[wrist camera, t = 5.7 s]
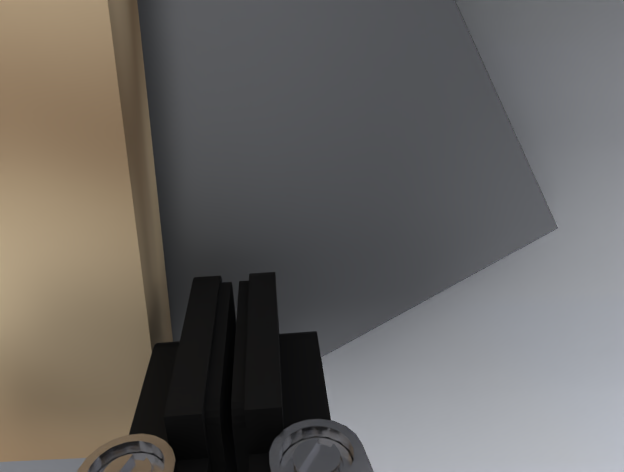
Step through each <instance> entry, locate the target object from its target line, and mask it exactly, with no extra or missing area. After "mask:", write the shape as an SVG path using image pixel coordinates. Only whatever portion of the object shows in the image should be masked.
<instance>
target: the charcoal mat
mask: <svg viewBox="0 0 624 472" xmlns="http://www.w3.org/2000/svg"><path fill="white" fill-rule="evenodd" d="M137 4H138V13H139V23H140V32H141V42H142V51H143V61H144V70H145V80H146V89H147V99H148V108H149V118H150V127H151V137H152V147H153V156H154V166H155V175H156V185H157V194H158V204H159V213H160V223H161V232H162V242H163V251H164V261H165V271H166V280H167V290H168V299H169V309H170V318H171V328H172V337H173V342H176V341H180V337H181V333H182V328H183V323H184V319H185V314H186V310H187V305H188V300H189V296H190V291H191V286H192V282H193V278H194V277H206V276H221V277H222V282H232V287H233V295H234V305H235V314H236V320H237V305H238V290H239V281H249V274H250V273H265V272H275V275H276V289H277V304H278V319H279V334H284V333H298V332H311V331H316V332H317V336H318V342H319V348H320V354H321V357H323V356H324V355H326V354H328V353H330V352H332V351H334V350H335V349H337V348H339V347H341V346H343V345H345V344H346V343H348V342H350V341H352V340H354V339H356V338H357V337H359V336H361V335H363V334H365V333H367V332H368V331H370V330H372V329H374V328H376V327H378V326H379V325H381V324H383V323H385V322H387V321H389V320H390V319H392V318H394V317H396V316H398V315H400V314H401V313H403V312H405V311H407V310H409V309H411V308H412V307H414V306H416V305H418V304H420V303H422V302H423V301H425V300H427V299H429V298H431V297H433V296H434V295H436V294H438V293H440V292H442V291H444V290H445V289H447V288H449V287H451V286H453V285H455V284H456V283H458V282H460V281H462V280H464V279H466V278H467V277H469V276H471V275H473V274H475V273H477V272H478V271H480V270H482V269H484V268H486V267H488V266H489V265H491V264H493V263H495V262H497V261H499V260H500V259H502V258H504V257H506V256H508V255H509V254H511V253H513V252H515V251H517V250H519V249H520V248H522V247H524V246H526V245H528V244H530V243H531V242H533V241H535V240H537V239H539V238H541V237H542V236H544V235H546V234H548V233H550V232H552V231H553V230H555V229H557V228H558V227H557V225H556V223H555V221H554V218H553V216H552V214H551V212H550V209H549V207H548V205H547V203H546V201H545V198H544V196H543V194H542V192H541V190H540V187H539V185H538V183H537V181H536V179H535V176H534V174H533V172H532V170H531V168H530V165H529V163H528V161H527V159H526V157H525V154H524V152H523V150H522V148H521V146H520V143H519V141H518V139H517V137H516V134H515V132H514V130H513V128H512V126H511V123H510V121H509V119H508V117H507V115H506V112H505V110H504V108H503V106H502V104H501V101H500V99H499V97H498V95H497V93H496V90H495V88H494V86H493V84H492V82H491V79H490V77H489V75H488V73H487V71H486V68H485V66H484V64H483V62H482V60H481V57H480V55H479V53H478V51H477V48H476V46H475V44H474V42H473V40H472V37H471V35H470V33H469V31H468V29H467V26H466V24H465V22H464V20H463V18H462V15H461V13H460V11H459V9H458V7H457V4H456V2H455V0H137ZM85 459H86V458H73V459H52V460H31V461H10V462H0V472H77V471H78V469H79V467H80V466H81V465H82V463H83V462H84V461H85Z"/></svg>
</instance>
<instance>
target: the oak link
mask: <svg viewBox="0 0 624 472" xmlns="http://www.w3.org/2000/svg"><path fill="white" fill-rule="evenodd" d="M163 342H173V337H172V328H171V318H170V309H169V299H168V290H167V280H166V271H165V261H164V251H163V242H162V232H161V223H160V213H159V204H158V194H157V185H156V175H155V166H154V156H153V147H152V137H151V127H150V118H149V108H148V99H147V89H146V80H145V70H144V61H143V51H142V42H141V32H140V23H139V13H138V4H137V0H0V462H10V461H31V460H52V459H73V458H87V457H88V456H89V455H90V454H91V453H92V452H94V451H95V450H96V449H97V448H98V447H100V446H102V445H104V444H105V443H107V442H109V441H111V440H113V439H116V438H119V437H122V436H126V435H129V432H130V428H131V425H132V421H133V418H134V414H135V411H136V407H137V403H138V400H139V396H140V393H141V389H142V386H143V382H144V379H145V375H146V371H147V368H148V364H149V361H150V357H151V354H152V350H153V348H154V345H155V344H156V343H163Z"/></svg>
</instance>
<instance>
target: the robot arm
mask: <svg viewBox="0 0 624 472" xmlns="http://www.w3.org/2000/svg"><path fill="white" fill-rule="evenodd" d="M77 472H374V471H373V469H372V467H371V464H370V462H369V459H368V457H367V455H366V452H365V450H364V447H363V445H362V443H361V442H360V440H359V438H358V437H357V435H356V434H355V433H354V432H353V431H351V430H350V429H349V428H347V427H346V426H344V425H342V424H340V423H337V422H335V421H331V418H330V412H329V406H328V399H327V393H326V386H325V380H324V374H323V367H322V361H321V354H320V348H319V342H318V336H317V332H316V331H311V332H298V333H284V334H279V319H278V304H277V289H276V275H275V272H265V273H250V274H249V281H239V290H238V305H237V320H236V314H235V305H234V295H233V287H232V282H222V277H221V276H206V277H194V278H193V282H192V286H191V291H190V296H189V300H188V305H187V310H186V314H185V319H184V323H183V328H182V333H181V337H180V341H176V342H163V343H156V344H155V345H154V348H153V350H152V354H151V357H150V361H149V364H148V368H147V371H146V375H145V379H144V382H143V386H142V389H141V393H140V396H139V400H138V403H137V407H136V411H135V414H134V418H133V421H132V425H131V428H130V432H129V435H126V436H122V437H119V438H116V439H113V440H111V441H109V442H107V443H105V444H104V445H102V446H100V447H98V448H97V449H96V450H95V451H94V452H92V453H91V454H90V455H89V456H88V457H87V458H86V459H85V461H84V462H83V463H82V465H81V466H80V467H79V469H78V471H77Z"/></svg>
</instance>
